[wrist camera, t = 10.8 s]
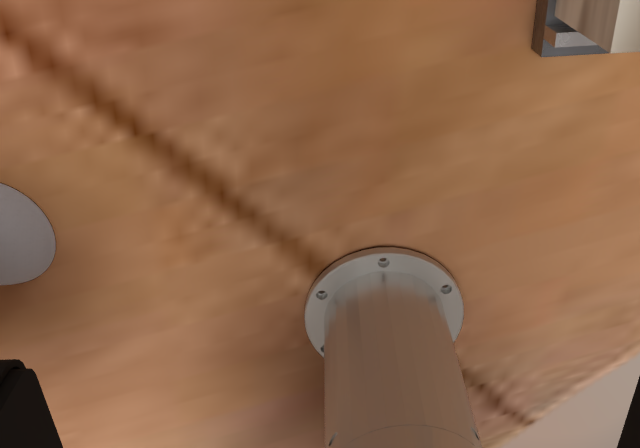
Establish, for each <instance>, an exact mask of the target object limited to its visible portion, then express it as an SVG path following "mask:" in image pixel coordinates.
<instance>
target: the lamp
mask: <svg viewBox="0 0 640 448" xmlns="http://www.w3.org/2000/svg"><path fill="white" fill-rule="evenodd" d="M55 251H56V241H55V235H54V232H53V229H52V226H51V224H50V222H49V220H48V219H47V217H46V216H45V214H44V213H43V212H42V210H41V209H40V208H39V207H38V206H37V205H36V204H35V203H34V202H33V201H32V200H30V199H29V198H28V197H27V196H25V195H24V194H22V193H21V192H19V191H17V190H15V189H13V188H11V187H9V186H7V185H4V184H1V183H0V285H12V284H18V283H23V282H27V281H30V280H33V279H34V278H36V277H38V276H40V275H41V274H42V273H43V272H45V271H46V270H47V268H48V267H49V266H50V265H51V263H52V260H53V258H54V255H55Z"/></svg>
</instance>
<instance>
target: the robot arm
mask: <svg viewBox="0 0 640 448" xmlns="http://www.w3.org/2000/svg"><path fill="white" fill-rule="evenodd" d="M304 318H305V329H306V332H307V335H308V338H309V340H310V342H311V343H312V345H313V346H314V348H315V350H316V351H317V352H318V353H319V354H320V355H321V356H322V357H323V358H324V396H325V448H482V446H481V442H480V438H479V435H478V431H477V427H476V424H475V420H474V416H473V413H472V409H471V405H470V402H469V398H468V394H467V391H466V387H465V384H464V380H463V376H462V373H461V369H460V365H459V362H458V358H457V354H456V351H455V347H454V342H455V340H456V339H457V337H458V335H459V332H460V330H461V328H462V324H463V319H464V304H463V300H462V297H461V293H460V290H459V288H458V286H457V283H456V281H455V280H454V278H453V277H452V276H451V274H450V273H449V272H448V270H446V269H445V268H444V267H443V266H442V265H441V264H439V263H438V262H437V261H435V260H433V259H432V258H430V257H428V256H426V255H424V254H421V253H418V252H415V251H412V250H409V249H402V248H396V247H378V248H372V249H367V250H362V251H359V252H356V253H353V254H350V255H347V256H345V257H344V258H342V259H340V260H338V261H336V262H334V263H333V264H332V265H331V266H329V267H328V268H327V269H326V270H324V271H323V272H322V273H321V275H320V276H319V277H318V278H317V279H316V281H315V282H314V284H313V285H312V287H311V289H310V291H309V293H308V296H307V300H306V303H305V315H304ZM0 448H63V446H62V443H61V441H60V438H59V435H58V433H57V430H56V427H55V424H54V422H53V419H52V416H51V414H50V411H49V408H48V406H47V403H46V400H45V397H44V395H43V392H42V389H41V387H40V384H39V381H38V379H37V376H36V374H35V372H34V371H33V370H32V369H26V367H25V366H24V364H23V362H21V361H20V360H16V359H12V360H0ZM617 448H640V377H639V380H638V384H637V387H636V390H635V393H634V396H633V399H632V402H631V405H630V408H629V412H628V415H627V418H626V421H625V425H624V427H623V430H622V434H621V437H620V440H619V443H618V446H617Z"/></svg>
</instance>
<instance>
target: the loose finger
mask: <svg viewBox="0 0 640 448" xmlns="http://www.w3.org/2000/svg"><path fill="white" fill-rule="evenodd" d="M554 16H555V17H557V18H558V19H560V20H561V21H563V22H564V23H566V24H567V25H569V26H570V27H572V28H573V29H575V30H576V31H578V32H579V33H581V34H582V35H584V36H585V37H587V38H588V39H590V40H591V41H593V42H594V43H596V44H597V45H599V46H600V47H602V48H603V49H605V50H606V51H607V52H609V53H626V52H640V0H556V7H555V15H554Z"/></svg>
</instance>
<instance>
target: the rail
mask: <svg viewBox="0 0 640 448" xmlns="http://www.w3.org/2000/svg"><path fill="white" fill-rule="evenodd" d="M555 7H556V0H537V5H536V13H535V22H534V31H533V39H532V49H533V50H534V51H535V52H536V53H537V54H538V55H539V56H541V57H552V56H569V55H586V54H603V53H609V52H607V51H606V50H605V49H603V48H602V47H600V46H599V45H597V44H596V43H594V42H593V41H591V40H590V39H588V38H587V37H585V36H584V35H582V34H581V33H579V32H578V31H576V30H575V29H573V28H572V27H570V26H569V25H567V24H566V23H564V22H563V21H561V20H560V19H558V18H557V17H555V16H554V15H555Z"/></svg>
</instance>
